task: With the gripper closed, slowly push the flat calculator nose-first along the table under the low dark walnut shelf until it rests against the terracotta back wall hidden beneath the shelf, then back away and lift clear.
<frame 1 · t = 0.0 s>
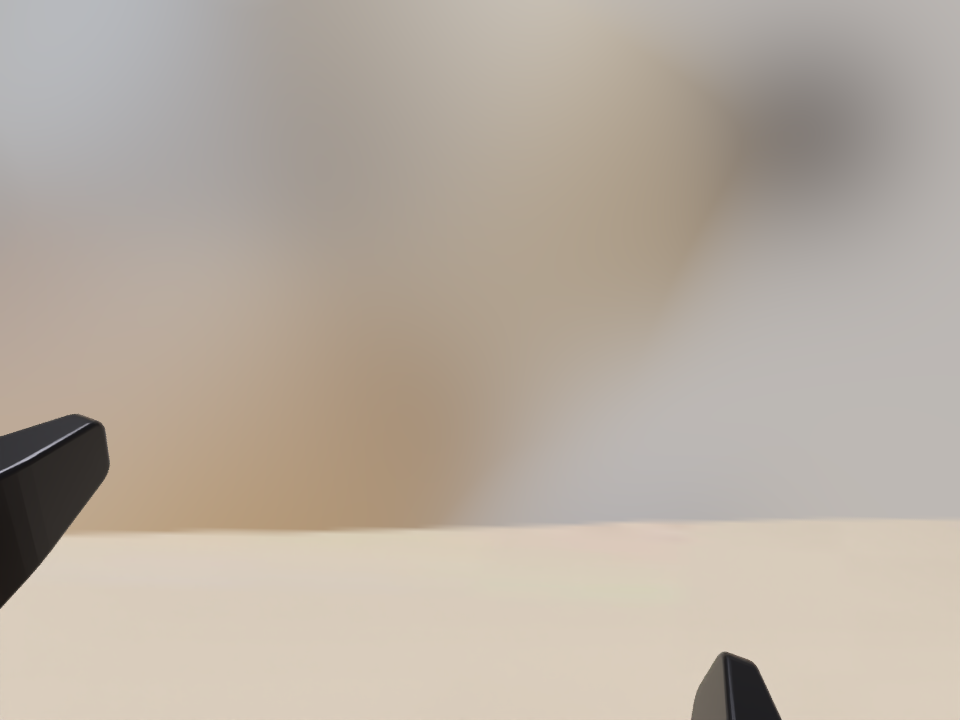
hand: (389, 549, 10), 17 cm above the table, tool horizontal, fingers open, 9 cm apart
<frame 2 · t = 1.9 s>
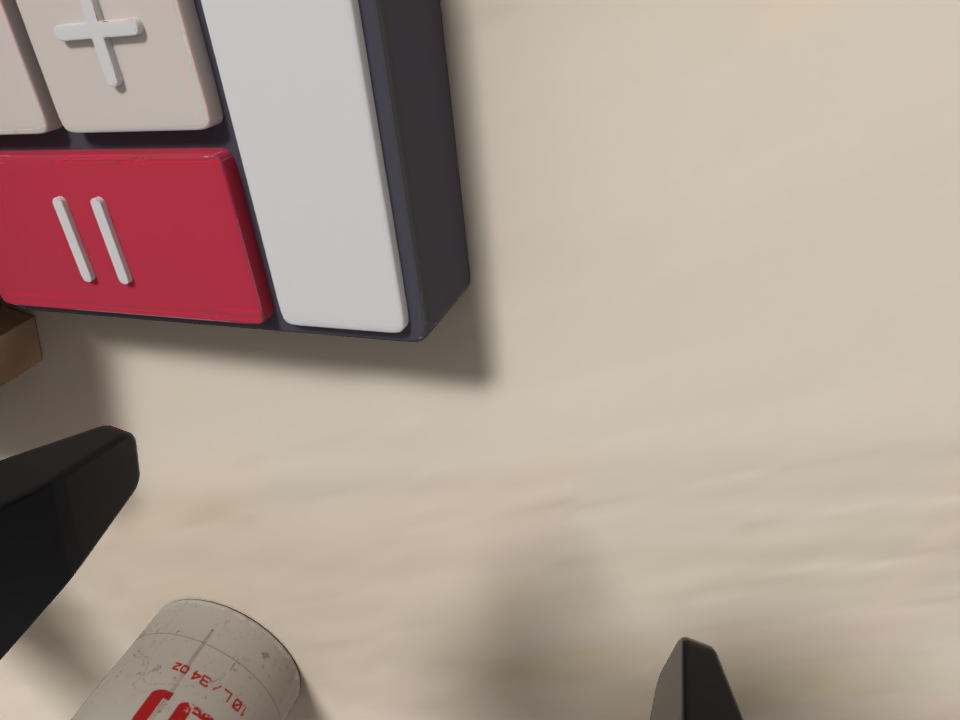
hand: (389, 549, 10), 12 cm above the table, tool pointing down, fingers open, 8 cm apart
thermos bottle: (230, 653, 36), on the table
calculator: (217, 108, 22), on the table
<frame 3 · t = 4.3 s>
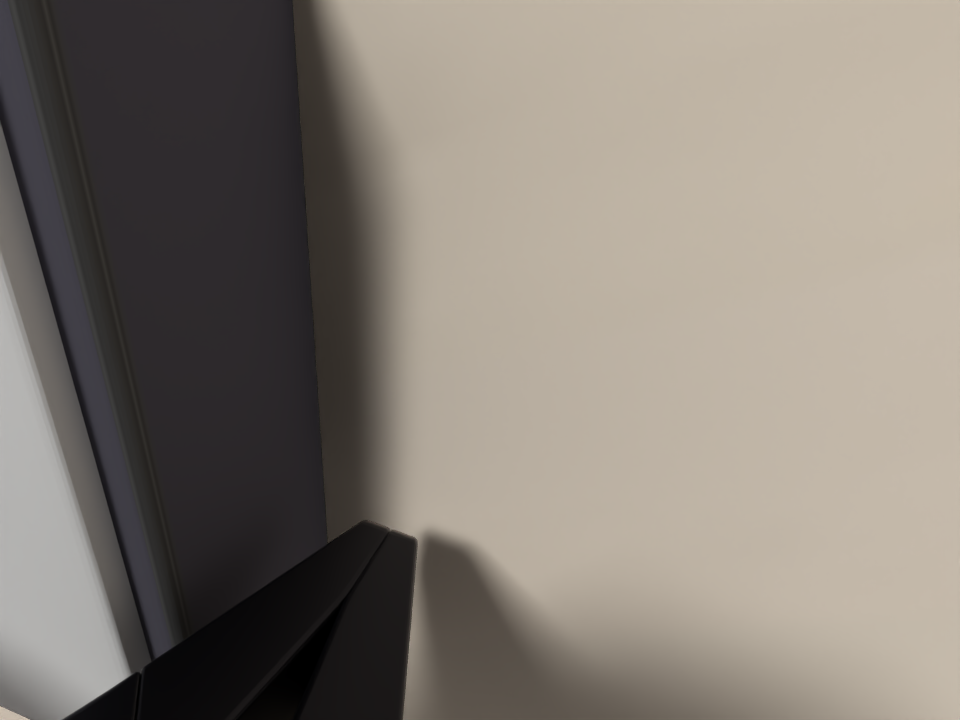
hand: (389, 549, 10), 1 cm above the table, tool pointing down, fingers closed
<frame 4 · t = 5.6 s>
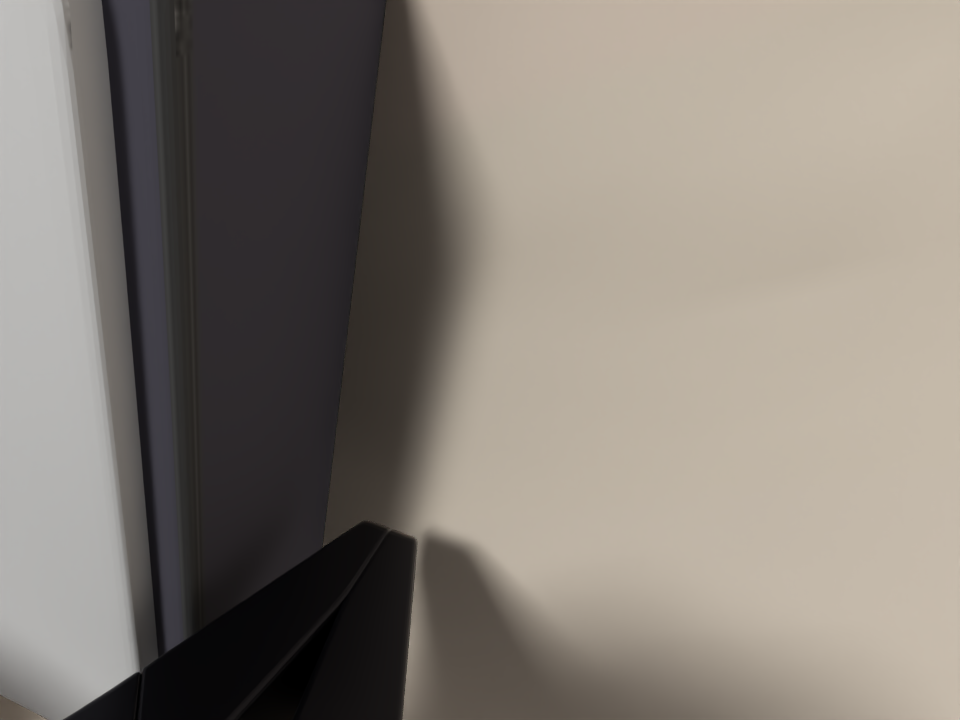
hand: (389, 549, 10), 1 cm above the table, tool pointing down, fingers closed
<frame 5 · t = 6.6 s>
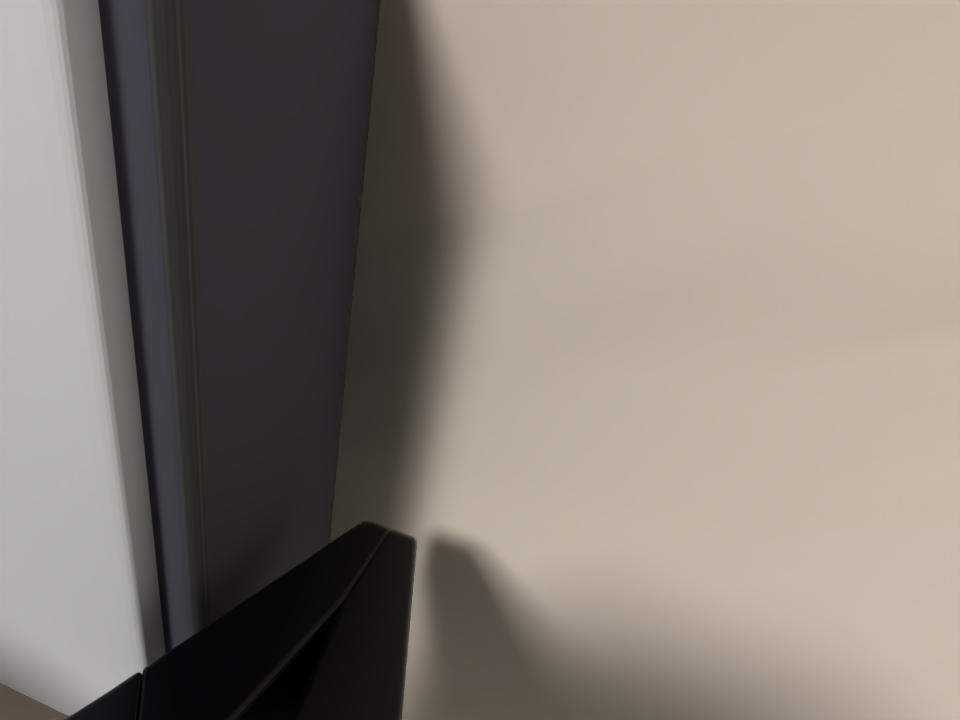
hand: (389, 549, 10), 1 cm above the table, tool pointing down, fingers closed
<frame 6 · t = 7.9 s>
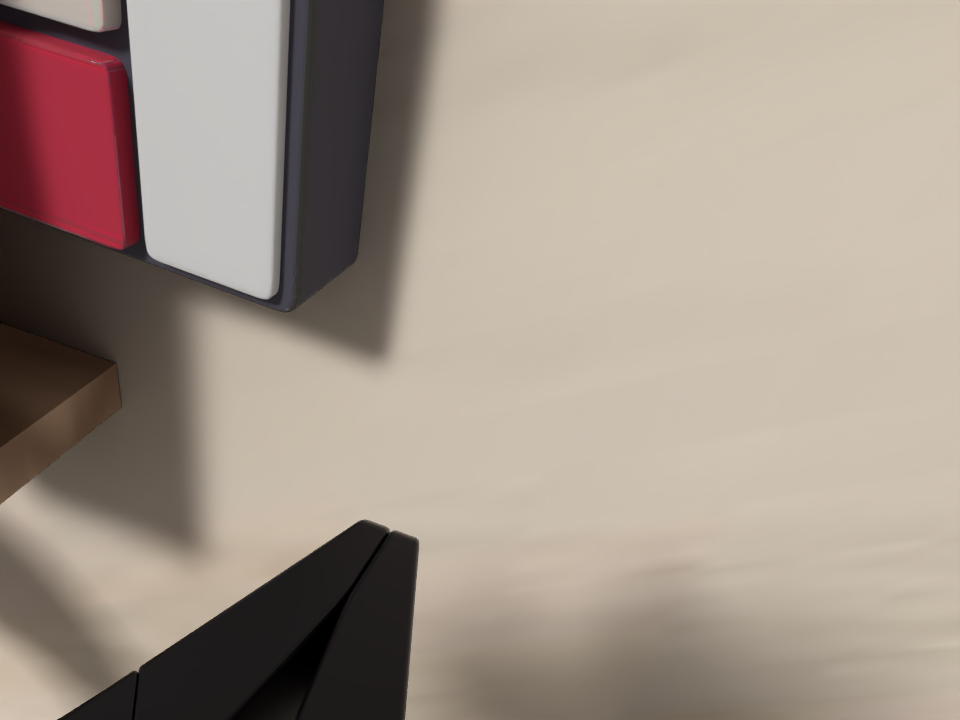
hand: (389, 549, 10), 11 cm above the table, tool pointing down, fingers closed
calculator: (126, 0, 20), on the table
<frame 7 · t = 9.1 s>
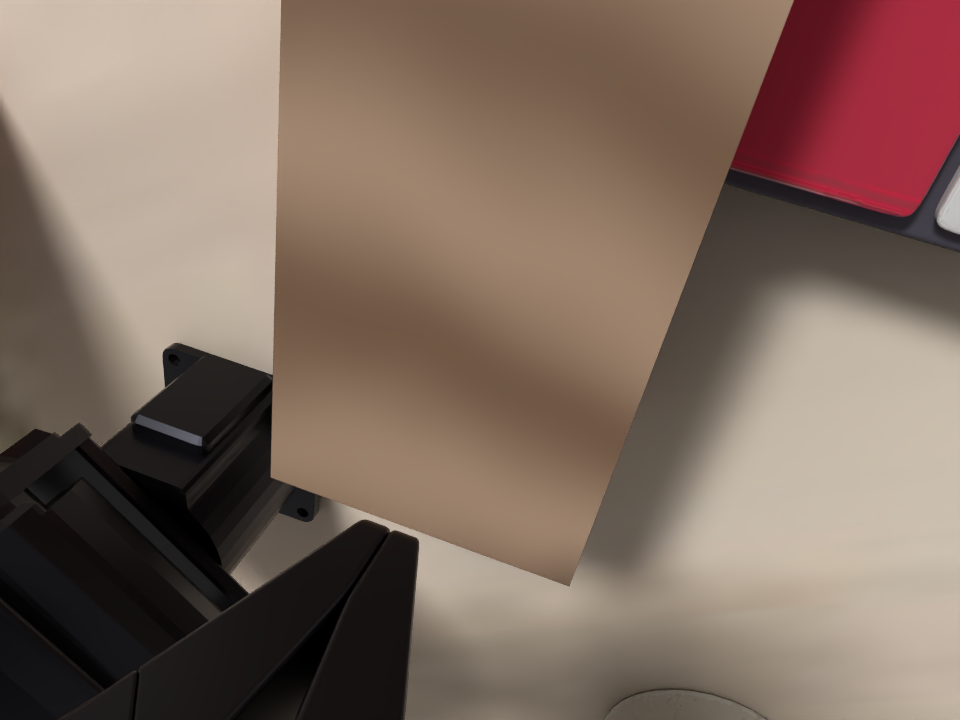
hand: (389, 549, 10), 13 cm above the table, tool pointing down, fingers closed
overhang shelf: (577, 22, 18), on the table
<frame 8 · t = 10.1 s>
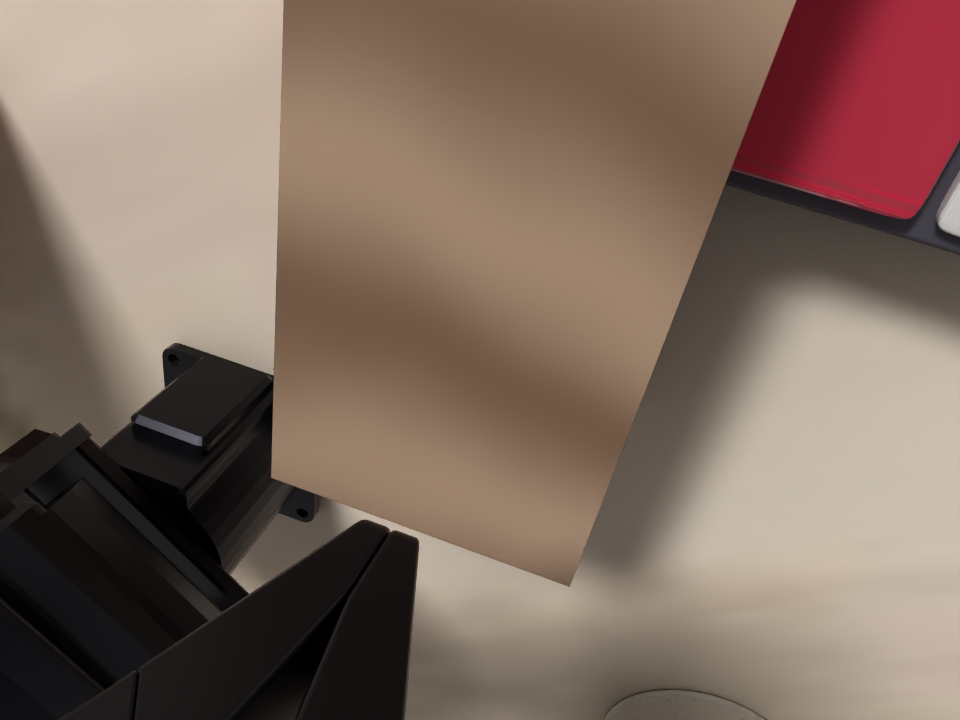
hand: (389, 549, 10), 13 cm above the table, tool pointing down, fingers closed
overhang shelf: (578, 24, 18), on the table
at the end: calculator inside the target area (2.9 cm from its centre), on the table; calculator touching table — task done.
